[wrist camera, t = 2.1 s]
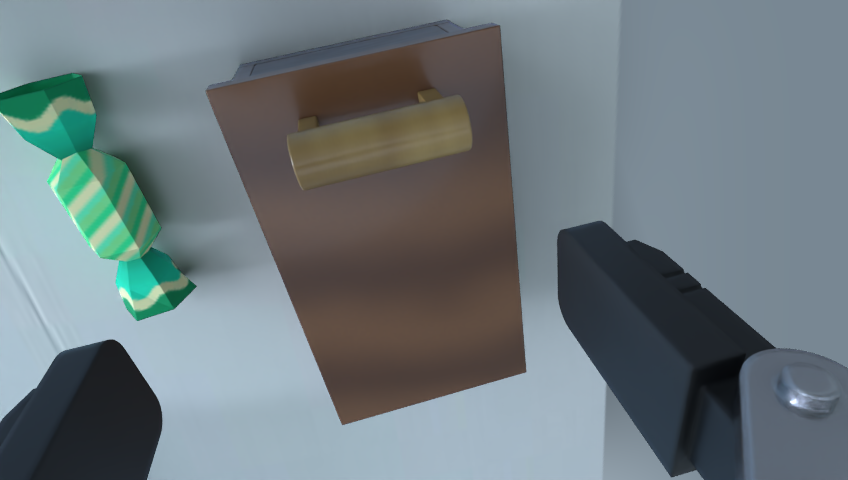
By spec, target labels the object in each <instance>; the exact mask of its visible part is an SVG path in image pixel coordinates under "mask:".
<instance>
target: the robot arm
mask: <svg viewBox="0 0 848 480" xmlns="http://www.w3.org/2000/svg"><path fill="white" fill-rule="evenodd" d="M557 257H558V300H559V305H560V309H561V312H562V315H563V318H564V320H565V322H566V324H567V326H568V327H569V329H570V330H571V332H572V333H573V335H574V336H575V338H576V339H577V341H578V342H579V344H580V345H581V346H582V348H583V349H584V351H585V352H586V354H587V355H588V357H589V358H590V360H591V361H592V362H593V364H594V365H595V367H596V368H597V370H598V371H599V373H600V374H601V376H602V377H603V379H604V380H605V381H606V383H607V384H608V386H609V387H610V389H611V390H612V392H613V393H614V395H615V396H616V397H617V399H618V400H619V402H620V403H621V405H622V406H623V408H624V409H625V411H626V412H627V413H628V415H629V416H630V418H631V419H632V421H633V422H634V424H635V425H636V427H637V428H638V430H639V431H640V432H641V434H642V435H643V437H644V438H645V440H646V441H647V443H648V444H649V446H650V447H651V449H652V450H653V451H654V453H655V454H656V456H657V457H658V459H659V460H660V462H661V463H662V465H663V466H664V467H665V469H666V470H667V472H668V473H669V475H670V476H671V477H674V476H678V475H681V474H684V473H688V472H691V471H694V470H697V471H698V472H699V473H700V475H701V476H702V478H703V479H704V480H848V368H847V367H845V366H843V365H841V364H839V363H837V362H835V361H833V360H831V359H828V358H826V357H824V356H820V355H817V354H814V353H811V352H807V351H802V350H796V349H782V348H781V349H780V348H775V347H774V346H773V345H772V344H770V343H769V342H768V341H767V340H766V339H765V338H763V337H762V336H761V335H760V334H759V333H757V332H756V331H755V330H754V329H753V328H752V327H751V326H749V325H748V324H747V323H746V322H745V321H744V320H742V319H741V318H740V317H739V316H738V315H737V314H735V313H734V312H733V311H732V310H731V309H729V308H728V307H727V306H726V305H725V304H724V303H722V302H721V301H720V300H719V299H717V297H715V296H714V295H713V294H712V293H711V292H710V291H708V290H707V289H706V288H702V287H701V284H700V283H699V282H698V281H697V280H696V279H694V278H693V277H692V276H691V275H690V274H689V273H684V270H683V268H681V267H680V266H679V265H678V264H677V263H676V262H674V261H673V260H672V259H671V258H670V257H668V256H667V255H666V254H665V253H664V252H662V251H660V250H658V249H656V248H653V247H651V246H649V245H646V244H644V243H642V242H639V241H637V240H632V241H628V242H626V241H624V240H623V239H622V238H621V237H620V236H619V235H618V234H617V233H616V232H615V231H614V230H613V229H611V228H610V227H609V226H608V225H607V224H606V223H605V222H603V221H596V222H592V223H588V224H584V225H580V226H576V227H572V228H568V229H564V230H561V231H560V232H559V234H558V239H557ZM161 431H162V412H161V407H160V404H159V401H158V399H157V397H156V395H155V394H154V392H153V391H152V389H151V388H150V386H149V385H148V383H147V382H146V380H145V379H144V377H143V376H142V374H141V373H140V371H139V370H138V368H137V367H136V365H135V364H134V362H133V361H132V359H131V358H130V356H129V355H128V353H127V352H126V350H125V349H124V347H123V346H122V345H121V344H120V343H119V342H117V341H115V340H106V341H102V342H98V343H94V344H90V345H86V346H82V347H77V348H73V349H69V350H65V351H63V352H61V353H59V354H58V355H57V356H56V358H55V359H54V361H53V362H52V364H51V366H50V367H49V369H48V370H47V372H46V374H45V375H44V377H43V378H42V380H41V382H40V383H39V385H38V387H37V388H36V389H33V390H32V391H31V392H30V393H29V394H28V395H27V396H26V397H25V398H24V399H23V400H21V401H20V402H19V403H18V404H17V405H16V406H15V407H14V408H13V409H12V410H11V411H10V412H9V413H8V414H7V415H6V416H5V417H4V418H3V419H2V421H1V422H0V480H147V477H148V474H149V471H150V467H151V464H152V461H153V458H154V454H155V451H156V448H157V445H158V441H159V438H160V435H161Z"/></svg>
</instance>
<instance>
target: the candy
mask: <svg viewBox="0 0 848 480" xmlns="http://www.w3.org/2000/svg"><path fill="white" fill-rule="evenodd" d="M0 114H1V115H2V116H3V117H4V118H5V119H6V120H7V121H8V122H9V123H10V124H11V125H12V127H13V128H14V129H15V130H16V131H17V132H18V133H19V134H20V135H21V136H22V137H23V138H24V140H26V141H28V142H30V143H31V144H33V145H35V146H37V147H38V148H40V149H42V150H44V151H46V152H47V153H49V154H51V155H53V156H54V157H56V158H57V160H56V163H55V165H54V167H53V169H52V172H51V174H50V176H49V178H48V181H47V182H48V184H49V185H50V187H51V188H52V190H53V192H54V193H55V195H56V196H57V198H58V199H59V201H60V202H61V204H62V205H63V207H64V208H65V210H66V211H67V213H68V214H69V216H70V217H71V219H72V220H73V222H74V223H75V225H76V226H77V228H78V229H79V231H80V232H81V234H82V235H83V237H84V238H85V240H86V241H87V243H88V245H89V246H90V247H91V248H92V249H93V250H94V251H95V252H96V254H97V255H98V256H99V257H100V258H104V259H112V260H119V265H118V271H117V277H116V285H117V287H118V290H119V292H120V294H121V297H122V299H123V301H124V304H125V306H126V308H127V310H128V311H129V312H130V313H131V314H132V316H133V317H134V318H135V319H136V320H137V321H139V320H142V319H145V318H148V317H151V316H154V315H157V314H161V313H164V312H167V311H170V310H173V309H175V308H176V307H177V306H178V305H179V304H180V303H181V302H182V301H183V300H184V299H185V298H186V297H187V296H188V295H189V294H190V293H191V292H192V291H193V290H194V289H195V288H196V287H197V286H196V285H195V284H194V283H192V282H191V281H190V280H189V279H188V278H187V277H185V276H184V275H183V274H182V272H181V271H180V270H179V269H178V267H177V266H176V265H175V263H174V262H173V261H172V260H171V258H170V257H169V256H168V255H167V254H165V253H163V252H160V251H158V250H156V249H154V248H152V247H151V246H152V244H153V242H154V240H155V239H156V237H157V235H158V233H159V231H160V230H161V226H160V225H159V223H158V221H157V219H156V217H155V216H154V214H153V212H152V210H151V208H150V206H149V205H148V203H147V201H146V199H145V197H144V196H143V194H142V192H141V190H140V188H139V186H138V185H137V183H136V181H135V179H134V177H133V176H132V174H131V172H130V170H129V168H128V166H127V165H126V163H125V162H123V161H121V160H119V159H118V158H116V157H114V156H112V155H109V154H107V153H104V152H101V151H98V150H96V149H93V148H92V147H93V140H94V132H95V124H96V117H97V115H96V112H95V109H94V107H93V104H92V101H91V99H90V96H89V93H88V90H87V88H86V85H85V82H84V80H83V77H82V75H78V74H74V73H70V74H66V75H62V76H57V77H53V78H49V79H45V80H40V81H36V82H32V83H28V84H25V85H22V86H19V87H16V88H13V89H10V90H8V91H5V92H2V93H0Z"/></svg>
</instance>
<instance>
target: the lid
mask: <svg viewBox="0 0 848 480" xmlns="http://www.w3.org/2000/svg"><path fill="white" fill-rule="evenodd" d="M206 94H207V97H208V99H209V102H210V104H211V106H212V109H213V111H214V114H215V116H216V119H217V121H218V123H219V126H220V128H221V131H222V133H223V136H224V138H225V141H226V143H227V145H228V148H229V150H230V153H231V155H232V158H233V160H234V163H235V165H236V167H237V170H238V172H239V175H240V177H241V180H242V182H243V184H244V187H245V189H246V192H247V194H248V197H249V199H250V202H251V204H252V206H253V209H254V211H255V214H256V216H257V219H258V221H259V223H260V226H261V228H262V231H263V233H264V236H265V238H266V241H267V243H268V245H269V248H270V250H271V253H272V255H273V258H274V260H275V262H276V265H277V267H278V270H279V272H280V275H281V277H282V280H283V282H284V284H285V287H286V289H287V292H288V294H289V297H290V299H291V301H292V304H293V306H294V309H295V311H296V314H297V316H298V319H299V321H300V323H301V326H302V328H303V331H304V333H305V336H306V338H307V341H308V343H309V345H310V348H311V350H312V353H313V355H314V358H315V360H316V362H317V365H318V367H319V370H320V372H321V375H322V377H323V380H324V382H325V384H326V387H327V389H328V392H329V394H330V397H331V399H332V401H333V404H334V406H335V409H336V411H337V414H338V416H339V419H340V421H341V423H342V425H345V424H348V423H352V422H355V421H358V420H362V419H365V418H369V417H372V416H376V415H379V414H383V413H386V412H390V411H393V410H397V409H400V408H404V407H407V406H411V405H414V404H417V403H421V402H424V401H428V400H431V399H435V398H438V397H442V396H445V395H449V394H452V393H456V392H459V391H463V390H466V389H470V388H473V387H476V386H480V385H483V384H487V383H490V382H494V381H497V380H501V379H504V378H508V377H511V376H515V375H518V374H522V373H525V372H526V362H525V349H524V335H523V322H522V309H521V296H520V283H519V270H518V256H517V243H516V230H515V217H514V204H513V191H512V177H511V164H510V151H509V138H508V125H507V111H506V98H505V85H504V72H503V59H502V46H501V32H500V25H497V24H495V23H488V24H484V25H479V26H475V27H470V28H466V29H461V30H457V31H452V32H448V33H443V34H439V35H434V36H430V37H425V38H421V39H416V40H412V41H407V42H402V43H398V44H393V45H389V46H384V47H380V48H375V49H371V50H366V51H362V52H357V53H353V54H348V55H344V56H339V57H335V58H330V59H326V60H321V61H317V62H312V63H308V64H303V65H298V66H294V67H289V68H285V69H280V70H276V71H271V72H267V73H262V74H258V75H253V76H249V77H244V78H240V79H235V80H231V81H226V82H222V83H217V84H213V85H209V86H208V88H207V89H206Z"/></svg>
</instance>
